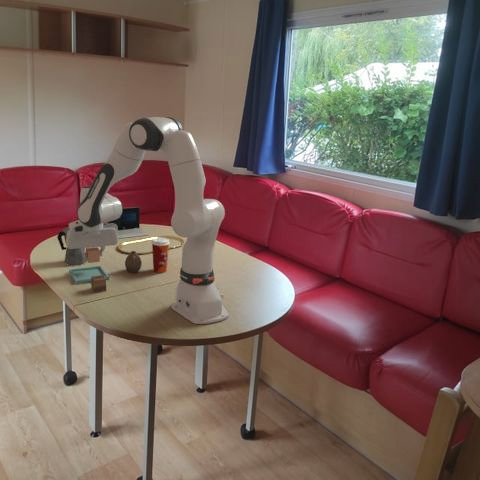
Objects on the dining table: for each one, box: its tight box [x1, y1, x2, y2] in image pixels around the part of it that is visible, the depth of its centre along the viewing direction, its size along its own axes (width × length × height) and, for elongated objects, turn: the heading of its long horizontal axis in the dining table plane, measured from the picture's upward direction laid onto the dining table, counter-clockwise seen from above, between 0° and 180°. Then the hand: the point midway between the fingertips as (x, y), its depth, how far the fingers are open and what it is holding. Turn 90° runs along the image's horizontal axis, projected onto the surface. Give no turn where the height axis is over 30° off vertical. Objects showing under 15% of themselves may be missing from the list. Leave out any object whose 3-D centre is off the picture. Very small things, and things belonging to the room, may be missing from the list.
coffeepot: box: [57, 226, 88, 266], centre depth 208 cm, size 15×9×18 cm, turn 150°
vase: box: [124, 250, 143, 274], centre depth 204 cm, size 7×7×9 cm
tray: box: [68, 265, 110, 285], centre depth 197 cm, size 13×13×2 cm
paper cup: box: [150, 238, 171, 274], centre depth 206 cm, size 8×8×14 cm
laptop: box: [106, 206, 149, 240], centre depth 254 cm, size 18×12×13 cm
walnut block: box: [90, 275, 107, 293], centre depth 185 cm, size 4×4×5 cm
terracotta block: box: [85, 247, 101, 264], centre depth 198 cm, size 4×4×5 cm
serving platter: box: [117, 235, 185, 256], centre depth 239 cm, size 19×35×2 cm, turn 133°
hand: (92, 256), depth 198 cm, fingers closed on terracotta block, 4 cm apart
